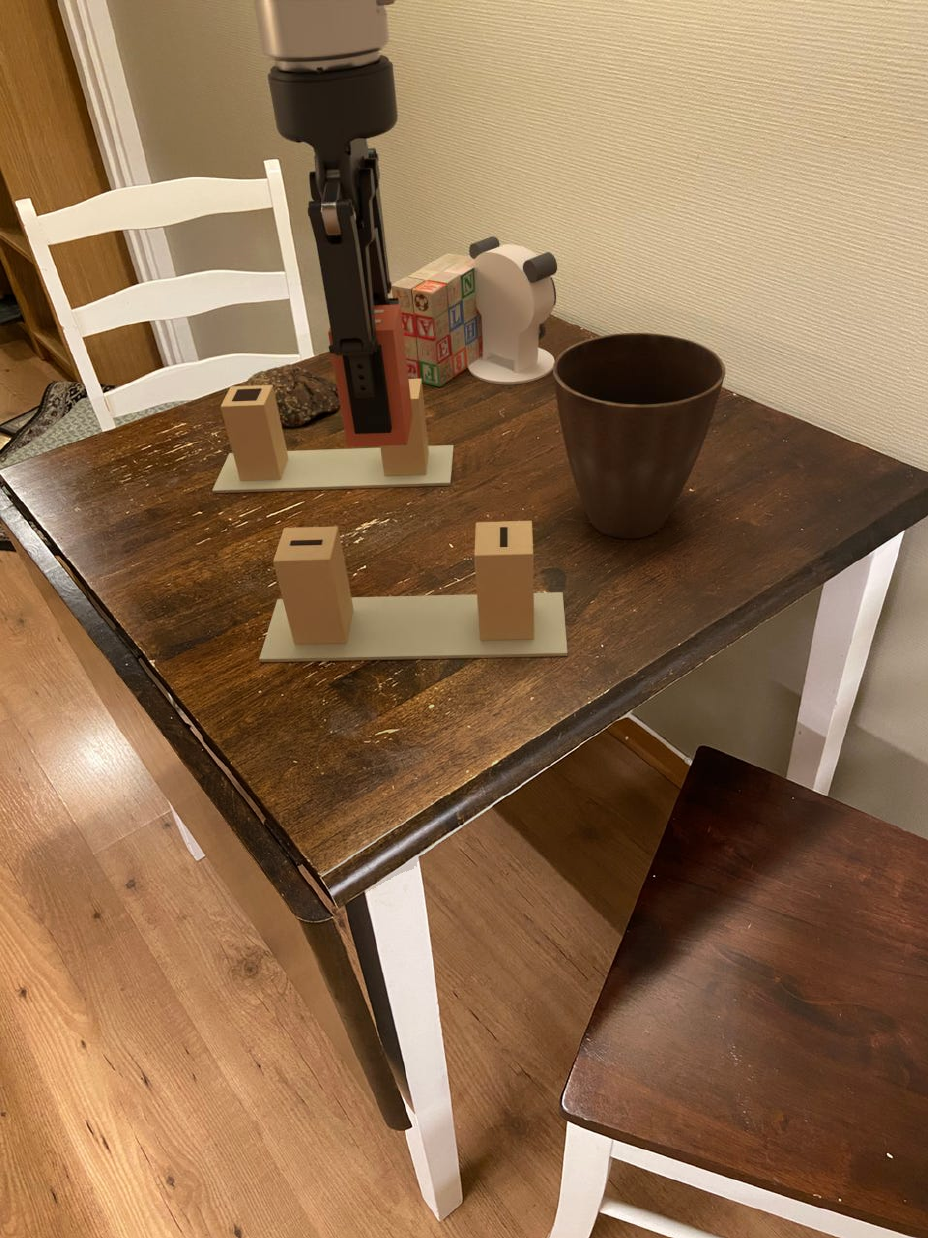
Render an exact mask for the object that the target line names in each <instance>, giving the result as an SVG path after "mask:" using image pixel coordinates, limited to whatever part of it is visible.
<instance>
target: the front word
mask: <svg viewBox="0 0 928 1238" xmlns="http://www.w3.org/2000/svg"><path fill="white" fill-rule="evenodd" d="M533 535H534V534H533V521H532V520H510V521H507V520H505V521H478V522H475V533H474V552H473V553H474V555H473V556H474V571H475V573H474V574H475V587H476V594H475V593H473V594H468V593H467V594H438V595H437V594H436V595H434V594H433V595H431V594H429V595H395V596H394V595H391V596H389V595H388V596H353V597H352V594H351V592H352V591H351V587H350V583H349V577H348V572H347V567H346V561H345V560H346V559H345V555H344V549H343V545H342V538H341V533H340V527H339V526H338V525H337V526H308V527H307V526H306V527H284V528H283V530H282V533H281V535H280V539H279V542H278V545H277V548H276V551H275V554H274V558H273V560H272V562H273V566H274V570H275V574H276V578H277V583H278V586H279V590H280V594H281V598H277V599H276V602H275V606H274V610H273V613H272V615H271V619H270V623H269V625H268V629H267V632H266V635H265V639H264V642H263V645H262V648H261V652H260V655H259V657H258V660H259V663H291V662H293V663H294V662H297V663H298V662H340V661H342V662H345V661H347V662H348V661H389V660H390V661H391V660H435V659H436V660H440V659H442V660H443V659H445V660H446V659H488V658H489V659H491V658H493V659H494V658H495V659H496V658H537V657H538V658H539V657H540V658H541V657H568V655H569V654H568V653H569V652H568V642H567V627H566V616H565V603H564V592H563V591H555V592H554V591H553V592H551V591H550V592H535V585H534V583H535V582H534V581H535V579H534V577H535V576H534V575H535V574H534V572H535V571H534V539H533V538H534V536H533Z"/></svg>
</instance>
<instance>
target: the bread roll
mask: <svg viewBox="0 0 928 1238" xmlns="http://www.w3.org/2000/svg"><path fill="white" fill-rule="evenodd" d="M256 385H273V388H274V393H275V398H276V402H277V407H278V412H279V416H280V421H281V425H282V427H287V428H297V427H300V426H302V425H304V424H306V423H308V422H310V421H311V420H313V419H314V418H315V417H317V416H318V415H321V414H324V413H329V414H330V413H333V412H335V411H338V410H339V408H340V401H339V397H338V396H337V395H338V389H337V383H336V382H333V381H332V380H330V379H328V378H326V377H323V376H321V375H320V374H318V373H313V372H312V371H309V370H308V369H306V368H302V367H299V366H298V365H295V366H294V365H292V364H290V363H287V364H283V365H281V366H278V367H277V366H276V367H272V368H269V369H267V370H260V371H258V372H255V373H254V374H252V375H251V376H250V377H249V378H247V380H246V381H242V384H239V386H256Z"/></svg>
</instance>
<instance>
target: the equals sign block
mask: <svg viewBox="0 0 928 1238" xmlns="http://www.w3.org/2000/svg"><path fill="white" fill-rule="evenodd" d="M374 314H375V325H376V336H377V339H378V345H381V347H382V355H383V362H384V370H385V378H386V386H387V394H388V402H389V409H390V417H391V425H392V430H391V433H373V434H355V432H354V425H353V419H352V413H351V407H350V400H349V394H348V388H347V381H346V375H345V369H344V363H343V356H342V355H340V356H336V355H335V354H331V358H332V365H333V370H334V375H335V376H334V377H335V383H337V389H338V394H337V395H338V399H339V401H340V405H339V408H340V412H341V420H342V425H343V431H344V436H345V437H344V438H345V442H346V447H348V448H349V447H351V448H353V447H354V448H355V447H377V446H378V447H380V446H388V445H407V442H408V437H409V432H410V427H411V421H412V416H413V415H412V406H411V396H410V387H409V378H408V369H407V360H406V351H405V342H404V333H403V324H402V314H401V305H400V304H399V305H375V306H374ZM327 334H328V340H329V345H331V344H332V343H333V341H332V335H331V329H330V328H328V332H327Z"/></svg>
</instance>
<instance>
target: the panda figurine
mask: <svg viewBox="0 0 928 1238" xmlns="http://www.w3.org/2000/svg"><path fill="white" fill-rule="evenodd" d="M500 244H501V243H500V240H499V238H498V237H496V236H495V235H492V236H489V237H487V238H484V239H481V240H478V241H476V242H473V243H470V245H469V248H468V253H469V256H470V257H471V258H473V259H475V260H474V263H473V266H472V267H474V282H475V293H476V308H477V309H478V311H479V313H480V314H481V316H482V337H483V355H482V356H481V357H479V359H478V360H476V361H475V362H473V363H472V364H470V365H469V366H468V368H467V370H468V372H469V374H470V375H471V376H473V377H474V378H475V379H477V380H479V381H482V382H485V383H489V384H494V385H495V384H496V385H506V386H507V385H508V386H509V385H520V384H526V383H532V382H535V381H538V380H540V379H542V378H544V377H547V376H548V375H549V374H550V373H552V372H553V364H554V362H555V358H554V356H553V355H552V354H551V353H550V352H549V351H547V350H545V349H543V348H541V347H539V342H540V340H542V339H544V337H545V336H546V331H547V330H546V327H545V324H544V322H546V321H547V319H548V318H549V317H550V316H551V314H552V312H553V310H554V308H555V306H556V303H557V290H556V284H555V282H554V279H553V276H554V275H555V274H556V273H557V271H558V263H557V259H556V257H555V256H554V254H553V253H552V252H550V251H546V252H544V253H542V254H539V255H538V254H536V253H535V252H534V251H533V250H531V249H530V248H527V247H525V246H522V245H520V244H519V245H518V244H513V243H505V244H502V245H500Z"/></svg>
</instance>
